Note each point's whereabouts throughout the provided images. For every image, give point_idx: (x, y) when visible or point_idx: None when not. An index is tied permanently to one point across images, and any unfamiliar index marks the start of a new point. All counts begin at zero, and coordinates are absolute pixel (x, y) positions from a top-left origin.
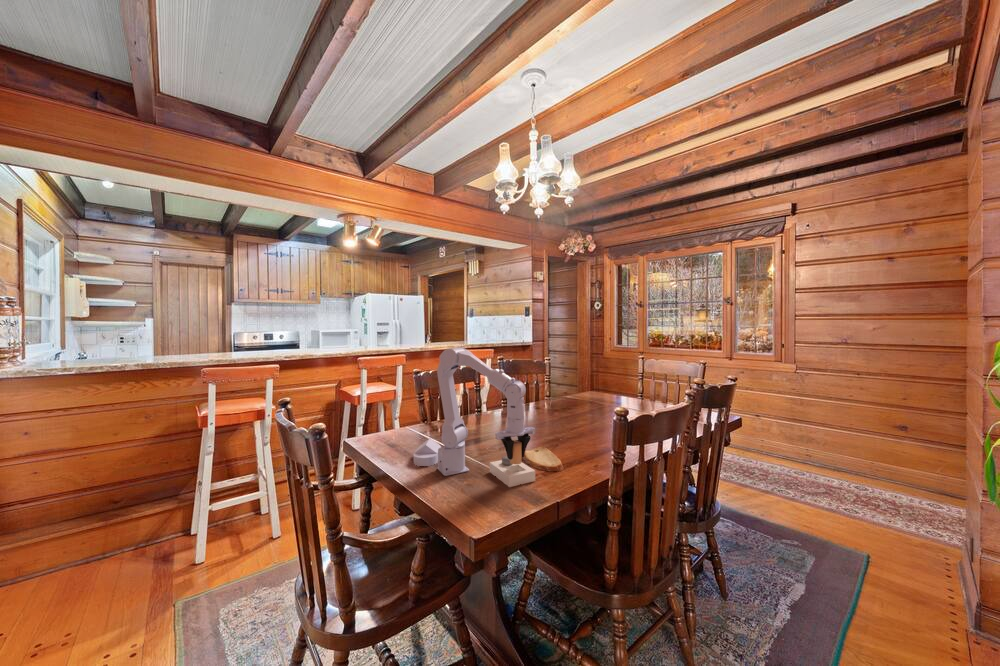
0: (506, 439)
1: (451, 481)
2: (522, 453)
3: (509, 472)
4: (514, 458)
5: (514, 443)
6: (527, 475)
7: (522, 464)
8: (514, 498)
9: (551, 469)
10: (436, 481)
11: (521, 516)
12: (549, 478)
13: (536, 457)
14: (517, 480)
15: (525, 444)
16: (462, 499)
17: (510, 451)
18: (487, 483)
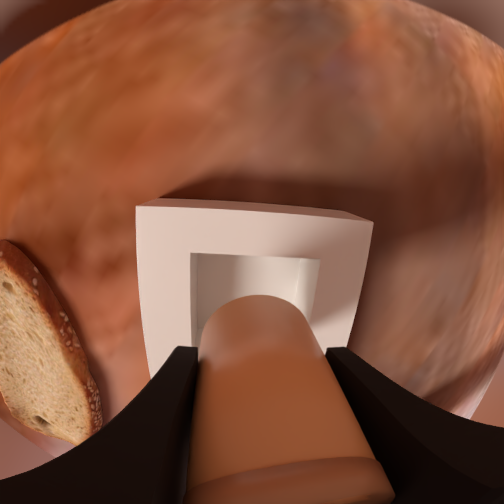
0: (501, 498)
1: (444, 367)
2: (191, 373)
3: (330, 282)
4: (314, 341)
5: (380, 496)
6: (213, 205)
7: (162, 350)
8: (387, 96)
9: (25, 265)
10: (460, 377)
11: (417, 4)
12: (72, 188)
13: (50, 389)
14: (298, 209)
15: (127, 456)
16: (499, 231)
17: (403, 393)
18: (390, 307)
